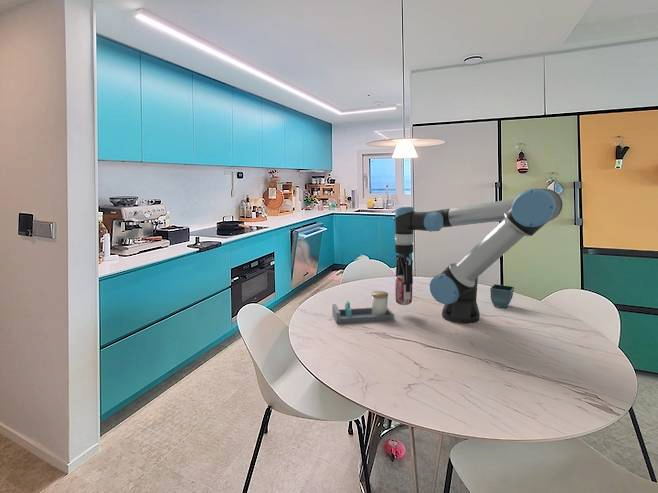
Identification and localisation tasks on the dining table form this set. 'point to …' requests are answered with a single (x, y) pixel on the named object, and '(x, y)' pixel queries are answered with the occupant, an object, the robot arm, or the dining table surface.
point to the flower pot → (501, 295)
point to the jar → (379, 303)
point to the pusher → (348, 309)
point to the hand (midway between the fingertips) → (403, 296)
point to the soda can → (401, 291)
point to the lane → (359, 315)
